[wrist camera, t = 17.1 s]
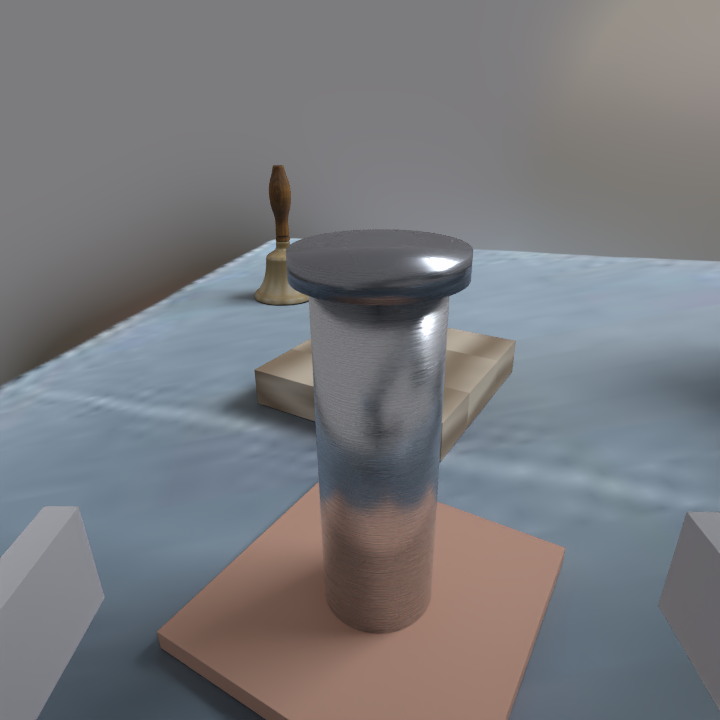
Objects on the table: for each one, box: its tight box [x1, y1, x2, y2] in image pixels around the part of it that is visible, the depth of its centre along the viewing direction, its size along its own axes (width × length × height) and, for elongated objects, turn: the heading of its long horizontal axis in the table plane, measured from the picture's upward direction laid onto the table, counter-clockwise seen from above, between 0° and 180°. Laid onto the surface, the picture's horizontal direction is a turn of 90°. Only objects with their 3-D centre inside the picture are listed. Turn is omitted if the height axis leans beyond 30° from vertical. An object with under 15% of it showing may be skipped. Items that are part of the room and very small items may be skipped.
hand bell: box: [255, 165, 309, 305], centre depth 66 cm, size 8×8×16 cm
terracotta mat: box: [157, 482, 565, 720], centre depth 25 cm, size 14×14×1 cm
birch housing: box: [255, 328, 516, 462], centre depth 45 cm, size 16×16×3 cm
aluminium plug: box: [286, 230, 473, 634], centre depth 22 cm, size 6×6×16 cm
